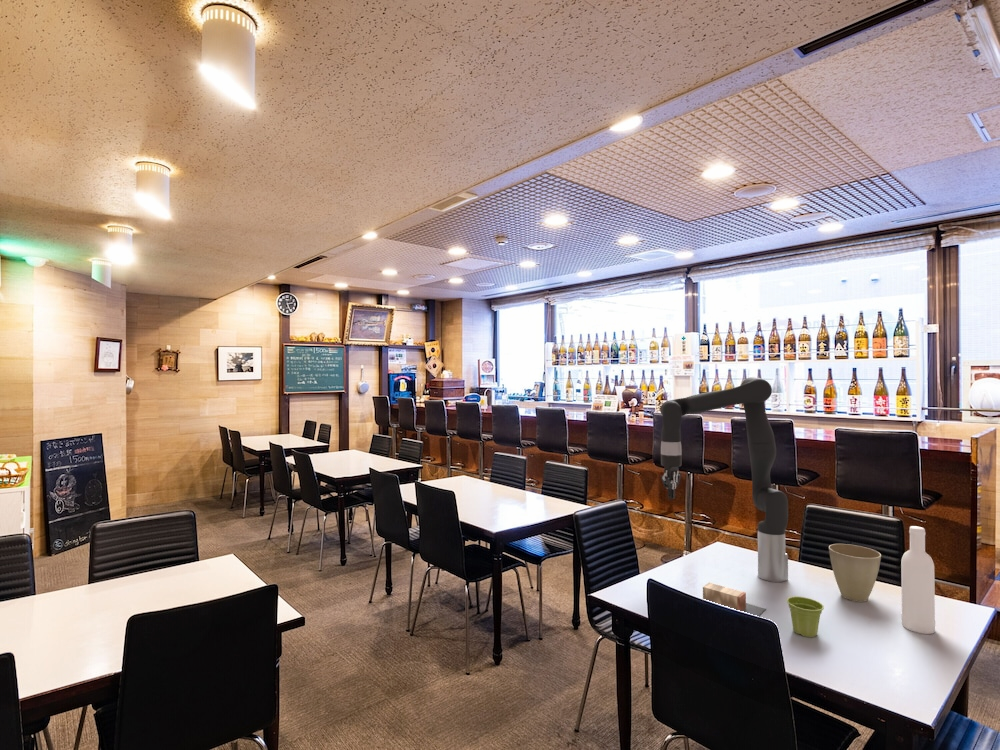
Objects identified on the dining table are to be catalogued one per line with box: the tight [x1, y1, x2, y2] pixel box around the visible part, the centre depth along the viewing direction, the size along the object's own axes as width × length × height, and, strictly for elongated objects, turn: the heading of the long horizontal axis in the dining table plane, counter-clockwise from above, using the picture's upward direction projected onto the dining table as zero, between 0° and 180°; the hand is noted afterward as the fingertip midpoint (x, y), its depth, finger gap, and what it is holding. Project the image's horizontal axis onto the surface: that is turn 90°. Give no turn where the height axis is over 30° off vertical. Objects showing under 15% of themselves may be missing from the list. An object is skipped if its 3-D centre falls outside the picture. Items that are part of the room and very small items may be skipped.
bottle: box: [900, 525, 936, 635], centre depth 157 cm, size 8×8×30 cm
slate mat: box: [743, 602, 767, 617], centre depth 171 cm, size 16×13×1 cm
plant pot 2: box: [828, 543, 882, 603], centre depth 179 cm, size 15×15×16 cm
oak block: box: [702, 582, 747, 611], centre depth 173 cm, size 5×5×12 cm
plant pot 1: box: [786, 596, 825, 638], centre depth 155 cm, size 9×9×9 cm
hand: (671, 498), depth 201 cm, fingers closed
